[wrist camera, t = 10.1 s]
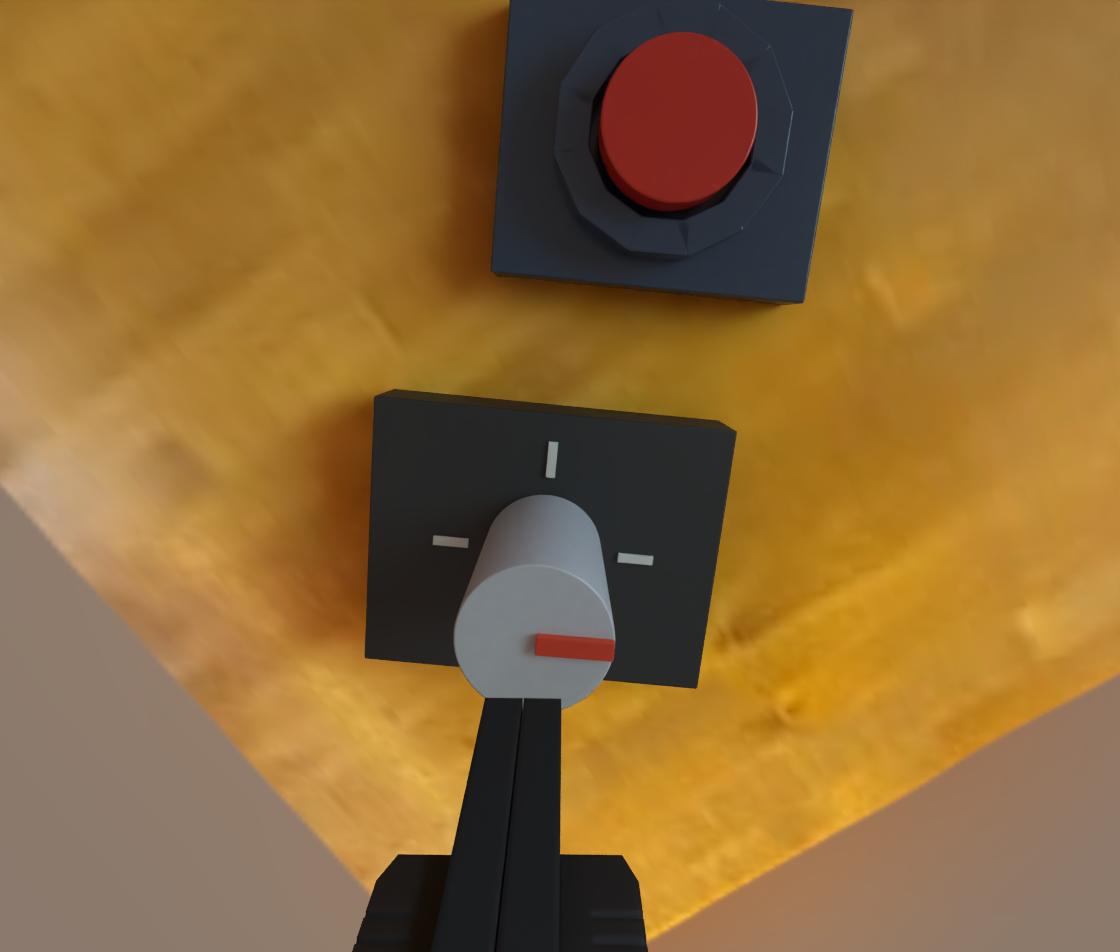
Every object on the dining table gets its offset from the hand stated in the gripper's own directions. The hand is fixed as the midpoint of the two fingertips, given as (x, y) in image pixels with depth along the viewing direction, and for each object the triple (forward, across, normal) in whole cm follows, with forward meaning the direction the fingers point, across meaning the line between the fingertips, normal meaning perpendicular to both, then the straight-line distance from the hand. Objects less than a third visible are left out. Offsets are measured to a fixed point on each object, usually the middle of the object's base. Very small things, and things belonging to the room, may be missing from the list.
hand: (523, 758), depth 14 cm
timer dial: (+13, 0, 0) cm, 13 cm away
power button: (+13, +4, +15) cm, 20 cm away
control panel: (+16, 0, 0) cm, 16 cm away
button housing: (+16, +4, +15) cm, 23 cm away
